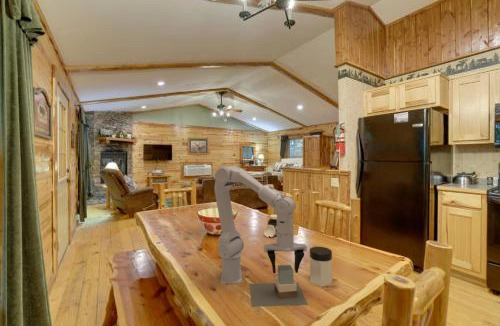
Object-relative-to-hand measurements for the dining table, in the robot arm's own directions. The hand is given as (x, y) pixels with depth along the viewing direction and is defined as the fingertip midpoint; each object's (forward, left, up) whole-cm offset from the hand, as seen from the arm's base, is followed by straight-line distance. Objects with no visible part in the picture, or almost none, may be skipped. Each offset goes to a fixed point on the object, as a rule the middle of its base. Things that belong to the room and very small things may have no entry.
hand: (285, 271), depth 85 cm
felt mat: (0, -3, -8) cm, 8 cm away
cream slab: (0, 0, -5) cm, 5 cm away
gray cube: (0, 0, -3) cm, 3 cm away
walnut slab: (0, 0, -8) cm, 8 cm away
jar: (-8, +15, -8) cm, 19 cm away
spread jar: (-64, +5, -8) cm, 65 cm away
